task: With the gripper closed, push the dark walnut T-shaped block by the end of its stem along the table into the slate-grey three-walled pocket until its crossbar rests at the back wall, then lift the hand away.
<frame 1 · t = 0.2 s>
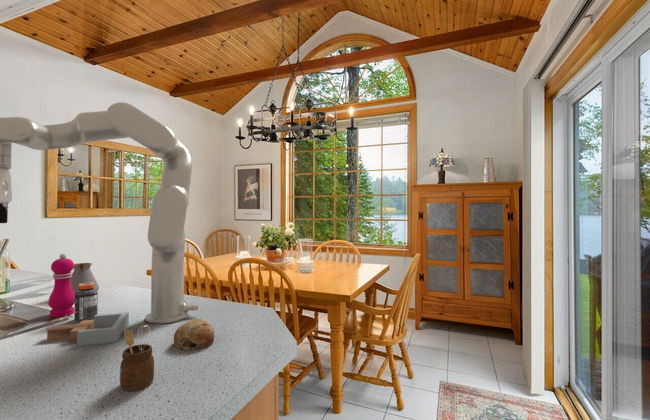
pill bottle: (86, 319, 104), on the countertop
bread roll: (194, 343, 87), on the countertop
coffee pot: (81, 299, 128), on the countertop
pepper mill: (62, 315, 109), on the countertop
T block: (69, 337, 90), on the countertop
pocket: (116, 332, 93), on the countertop
utensil holder: (136, 385, 66), on the countertop
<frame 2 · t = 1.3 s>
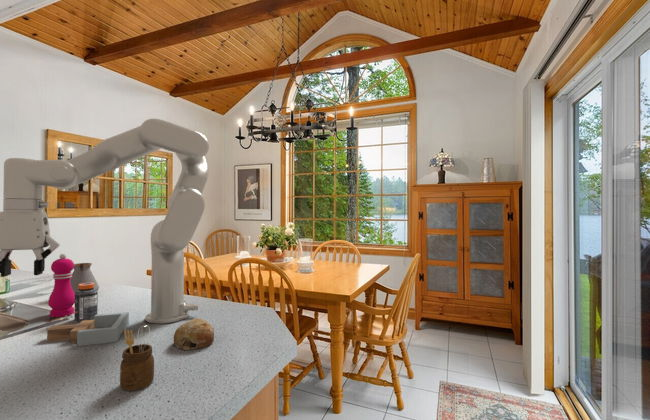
hand: (22, 274, 86), 18 cm above the countertop, tool pointing down, fingers open, 6 cm apart
nothing on the countertop moved.
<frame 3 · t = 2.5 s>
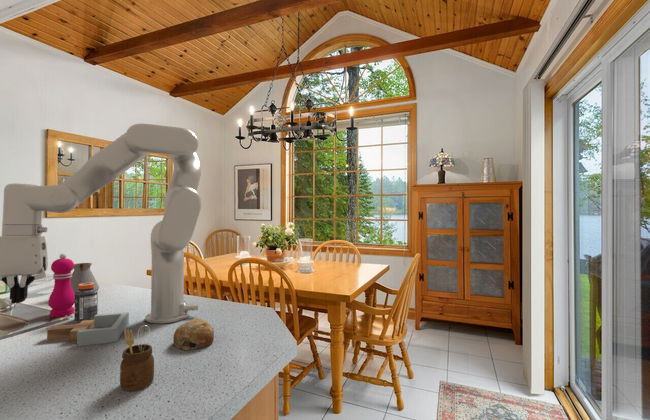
hand: (18, 301, 86), 11 cm above the countertop, tool pointing down, fingers closed
nothing on the countertop moved.
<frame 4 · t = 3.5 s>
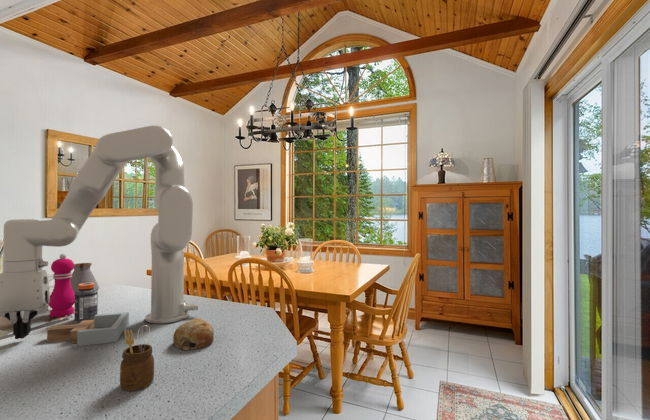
hand: (22, 336, 86), 1 cm above the countertop, tool pointing down, fingers closed
nothing on the countertop moved.
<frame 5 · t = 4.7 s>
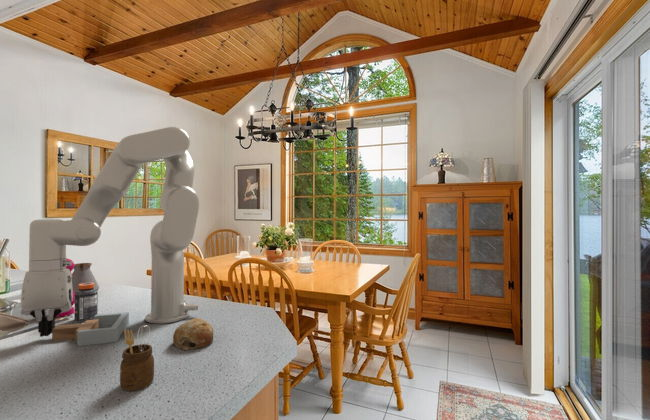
hand: (46, 334, 88), 1 cm above the countertop, tool pointing down, fingers closed
T block: (74, 336, 90), on the countertop, touching gripper
everything else where it was.
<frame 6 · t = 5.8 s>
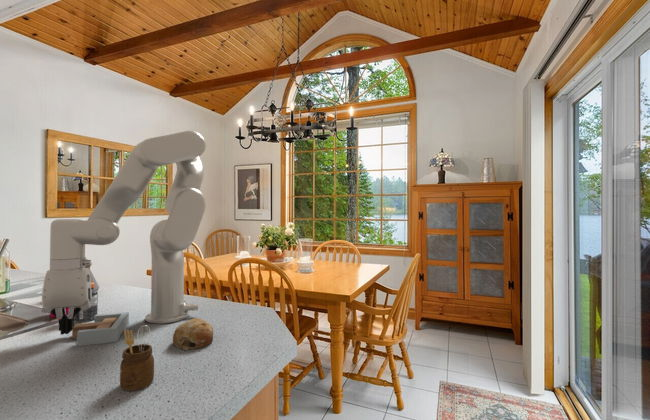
hand: (66, 332, 89), 1 cm above the countertop, tool pointing down, fingers closed
T block: (93, 334, 91), on the countertop, touching gripper
everything else where it was.
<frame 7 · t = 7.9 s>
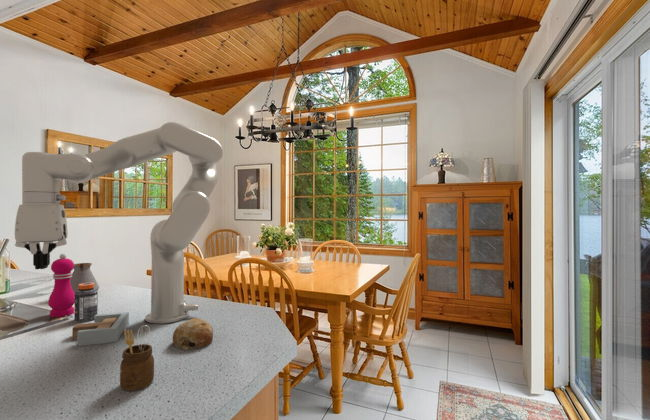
hand: (41, 268, 88), 19 cm above the countertop, tool pointing down, fingers closed
T block: (93, 335, 91), on the countertop
everything else where it was.
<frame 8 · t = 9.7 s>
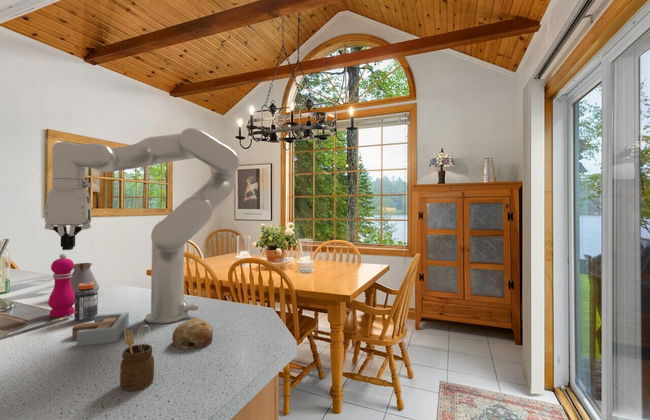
hand: (67, 249, 95), 23 cm above the countertop, tool pointing down, fingers closed
nothing on the countertop moved.
at the end: T block 0.1 cm from the target spot, on the countertop; T block tilted 0°; T block moved 5.6 cm from its start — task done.
